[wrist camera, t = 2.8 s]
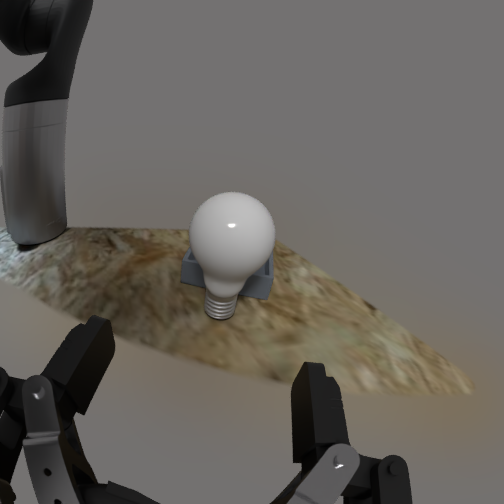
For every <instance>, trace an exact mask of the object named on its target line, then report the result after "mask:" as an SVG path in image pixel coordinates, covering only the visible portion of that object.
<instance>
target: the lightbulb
mask: <svg viewBox="0 0 504 504" xmlns="http://www.w3.org/2000/svg"><path fill="white" fill-rule="evenodd" d="M189 243H190V248H191V251H192V253H193V255H194V257H195V259H196V261H197V262H198V264H199V265H200V267H201V269H202V271H203V276H204V282H205V285H206V296H205V304H204V310H205V312H206V313H207V314H208V315H209V316H211V317H213V318H216V319H226V318H229V317H231V316H232V315H233V314H234V310H235V306H236V301H237V297H238V293H239V292H240V291H241V289H242V288H243V286H244V284H245V282H246V280H247V279H248V278H249V277H250V276H251V275H253V274H254V273H255V272H257V271H258V270H259V269H260V268H261V267H262V266H263V265H264V264H265V263H266V262H267V260H268V259H269V257H270V255H271V253H272V251H273V248H274V244H275V226H274V222H273V219H272V217H271V215H270V213H269V211H268V210H267V209H266V207H265V206H264V205H263V204H262V203H261V202H259V201H258V200H257V199H255V198H254V197H252V196H250V195H247V194H244V193H240V192H225V193H220V194H217V195H215V196H213V197H211V198H209V199H208V200H206V201H205V202H204V203H203V204H201V206H200V207H199V208H198V209H197V211H196V212H195V214H194V216H193V218H192V220H191V223H190V227H189Z"/></svg>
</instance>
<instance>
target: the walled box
mask: <svg viewBox="0 0 504 504" xmlns="http://www.w3.org/2000/svg"><path fill="white" fill-rule="evenodd" d="M272 282H273V251H272V253H271V255H270V257H269V259H268V260H267V262H266V263H265V264H264V265H263V266H262V267H261V268H260V269H259V270H258V271H257V272H255V273H254V274H253V275H251V276H250V277H249V278H248V279H247V280H246V282H245V284H244V286H243V288H242V289H241V291H240V292H239V293H238V295H244V296H249V297H254V298H259V299H265V300H267V299H268V296H269V292H270V289H271V286H272ZM181 283H186V284H190V285H195V286H199V287H204V288H206V285H205V282H204V276H203V271H202V269H201V267H200V265H199V264H198V262H197V261H196V259H195V257H194V255H193V253H192V251H191V248H190V247H189V249H188V251H187V252H186V254H185V256H184V258H183V260H182V270H181Z"/></svg>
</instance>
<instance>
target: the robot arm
mask: <svg viewBox="0 0 504 504" xmlns="http://www.w3.org/2000/svg"><path fill="white" fill-rule="evenodd" d="M92 5H93V0H0V40H1V42H2V43H3V44H4V45H5V46H6V47H7V48H8V49H9V50H10V51H11V52H12V53H14V54H16V55H32V54H38V53H43V52H47V54H46V55H45V57H44V59H43V60H42V61H41V62H40V63H39V64H38V65H37V66H36V67H34V68H33V69H32V70H31V71H29V72H28V73H26V74H25V75H23V76H22V77H20V78H19V79H17V80H16V81H14V82H12V83H11V84H10V85H9V86H8V88H7V90H6V93H5V100H4V107H5V108H4V111H3V127H2V131H3V132H2V166H1V167H0V181H1V192H2V201H3V208H4V215H5V222H6V227H7V233H10V234H11V238H12V240H13V241H14V242H16V243H19V244H24V245H31V244H38V243H42V242H45V241H48V240H50V239H52V238H55V237H56V236H58V235H59V234H61V233H62V232H63V231H64V230H65V228H66V227H67V217H66V203H65V175H64V174H65V172H64V163H65V162H64V161H65V133H66V119H67V109H68V98H69V92H70V86H71V82H72V78H73V73H74V69H75V64H76V59H77V55H78V52H79V48H80V45H81V42H82V38H83V35H84V32H85V29H86V26H87V23H88V20H89V17H90V14H91V10H92ZM114 352H115V341H114V336H113V332H112V327H111V322H110V320H108V319H105V318H102V317H99V316H96V315H92V316H91V317H90V318H89V320H88V321H87V323H86V324H85V325H84V324H82V323H80V324H79V325H77V326H76V327H75V328H73V329H71V331H70V332H69V334H68V335H67V336H66V338H65V340H64V341H63V342H62V344H61V345H60V347H59V348H58V350H57V351H56V352H55V354H54V355H53V357H52V358H51V360H50V361H49V363H48V364H47V366H46V368H45V369H44V371H43V372H42V373H41V374H40V375H34V376H31V377H29V378H28V379H27V380H24V379H19V378H14V377H10V376H8V374H7V373H6V371H5V370H4V369H3V368H1V367H0V416H1V414H2V412H3V410H4V412H3V414H2V416H1V418H0V504H14V501H15V500H16V495H15V493H14V492H13V489H12V487H11V485H10V483H11V479H12V476H13V472H14V469H15V466H16V463H17V460H18V458H19V455H20V452H21V449H22V446H23V448H24V453H25V458H26V462H27V466H28V470H29V474H30V477H31V481H32V484H33V488H34V491H35V494H36V497H37V500H38V503H39V504H160V503H158V502H156V501H154V500H152V499H150V498H148V497H146V496H144V495H143V494H141V493H139V492H137V491H135V490H132V489H129V488H127V487H124V486H121V485H118V484H116V483H113V482H111V481H108V484H100V483H98V482H97V479H96V477H95V474H94V472H93V470H92V468H91V466H90V464H89V463H88V461H87V459H86V457H85V455H84V452H83V449H82V446H81V442H80V439H79V436H78V432H77V429H76V425H75V421H74V418H73V417H74V415H75V413H76V412H78V413H80V414H82V415H85V413H86V411H87V408H88V406H89V404H90V402H91V400H92V398H93V396H94V394H95V392H96V390H97V388H98V385H99V383H100V382H101V380H102V377H103V376H104V373H105V371H106V370H107V368H108V366H109V364H110V362H111V360H112V358H113V356H114ZM341 398H342V397H341V392H340V387H339V385H338V384H337V382H336V381H335V379H334V378H333V377H326V372H325V367H324V364H322V363H313V362H304V363H303V365H302V367H301V369H300V371H299V373H298V375H297V376H296V378H295V380H294V382H293V385H292V390H291V411H292V442H293V463H301V464H302V470H301V471H300V472H299V473H298V475H297V476H296V477H295V478H294V479H293V480H292V481H291V482H290V484H289V485H288V486H287V487H286V488H285V489H284V490H283V491H282V492H281V493H280V494H279V495H278V497H276V499H275V500H274V501H272V502H271V503H270V504H334V503H335V501H336V500H337V499H338V497H339V496H343V499H344V500H343V504H412V496H411V487H410V479H409V473H408V467H407V464H406V462H405V460H404V459H403V458H401V457H400V456H397V455H389V456H387V457H385V458H384V459H382V460H381V459H376V458H371V457H367V456H363V455H360V454H358V453H357V451H356V450H355V449H354V448H353V447H351V445H350V443H349V439H348V432H347V426H346V420H345V414H344V409H343V403H342V400H341ZM26 436H27V437H26Z"/></svg>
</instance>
